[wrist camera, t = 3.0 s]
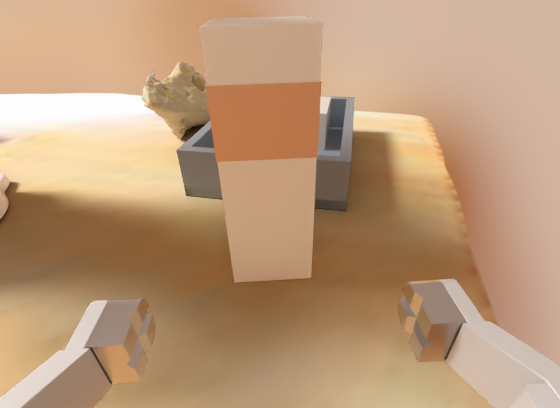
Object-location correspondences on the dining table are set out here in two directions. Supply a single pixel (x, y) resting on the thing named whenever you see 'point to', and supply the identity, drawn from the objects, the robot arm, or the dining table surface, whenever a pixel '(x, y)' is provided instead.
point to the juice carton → (265, 138)
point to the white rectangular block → (324, 121)
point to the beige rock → (178, 98)
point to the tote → (329, 165)
